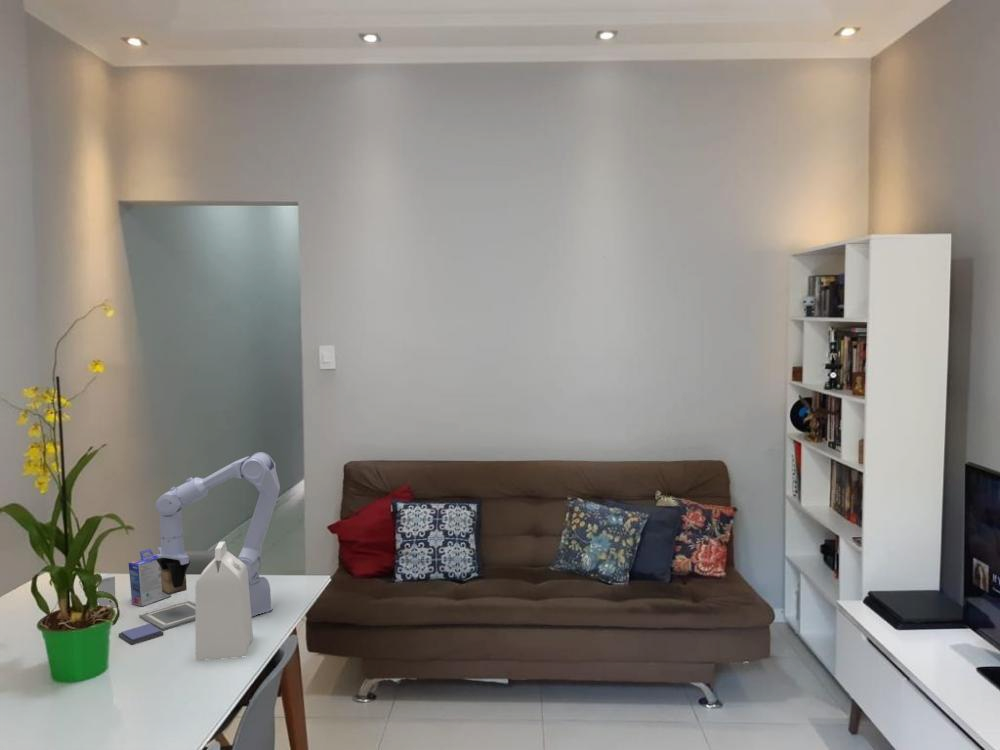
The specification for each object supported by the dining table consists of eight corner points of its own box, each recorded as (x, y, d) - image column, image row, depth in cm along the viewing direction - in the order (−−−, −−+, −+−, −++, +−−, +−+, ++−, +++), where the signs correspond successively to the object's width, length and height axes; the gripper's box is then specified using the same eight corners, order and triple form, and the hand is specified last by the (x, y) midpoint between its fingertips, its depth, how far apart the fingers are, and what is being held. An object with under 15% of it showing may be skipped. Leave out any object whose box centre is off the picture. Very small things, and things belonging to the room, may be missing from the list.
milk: (205, 640, 199) (200, 539, 197) (253, 636, 201) (248, 536, 199) (195, 661, 188) (190, 553, 185) (245, 656, 189) (241, 550, 187)
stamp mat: (189, 603, 226) (189, 600, 226) (212, 615, 216) (212, 612, 216) (139, 617, 215) (139, 614, 215) (162, 630, 206) (161, 628, 206)
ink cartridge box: (160, 593, 234) (158, 545, 233) (172, 596, 231) (169, 547, 230) (129, 603, 226) (127, 554, 225) (141, 607, 223) (138, 557, 222)
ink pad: (149, 627, 209) (149, 622, 209) (163, 635, 203) (163, 630, 203) (118, 636, 203) (118, 632, 203) (131, 645, 197) (131, 640, 197)
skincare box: (92, 625, 211) (89, 580, 210) (90, 619, 215) (87, 576, 214) (117, 619, 214) (115, 576, 213) (115, 614, 218) (112, 571, 217)
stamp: (179, 586, 218) (178, 565, 218) (186, 590, 216) (185, 568, 215) (161, 591, 215) (160, 570, 214) (168, 595, 212) (167, 573, 211)
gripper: (145, 534, 216) (148, 582, 217) (169, 544, 206) (172, 595, 207) (171, 528, 221) (173, 576, 222) (195, 538, 211) (197, 587, 212)
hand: (174, 584), depth 215 cm, fingers closed on stamp, 4 cm apart
